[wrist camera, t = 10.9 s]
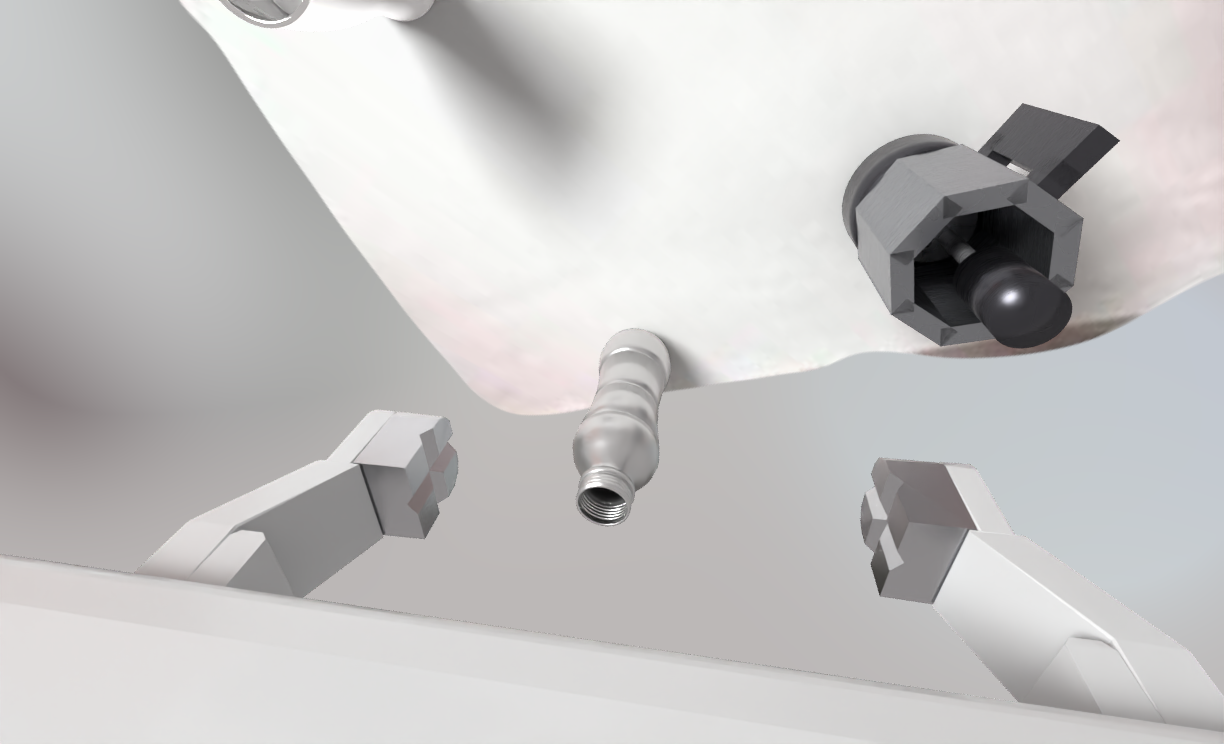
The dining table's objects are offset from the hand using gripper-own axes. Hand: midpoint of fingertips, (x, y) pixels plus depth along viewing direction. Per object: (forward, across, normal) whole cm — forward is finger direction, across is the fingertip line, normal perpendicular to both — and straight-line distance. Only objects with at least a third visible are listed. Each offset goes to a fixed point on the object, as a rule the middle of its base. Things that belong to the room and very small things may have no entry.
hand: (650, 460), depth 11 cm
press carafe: (+37, -17, +3) cm, 41 cm away
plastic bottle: (+37, +4, +19) cm, 42 cm away
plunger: (+31, -16, +5) cm, 35 cm away
